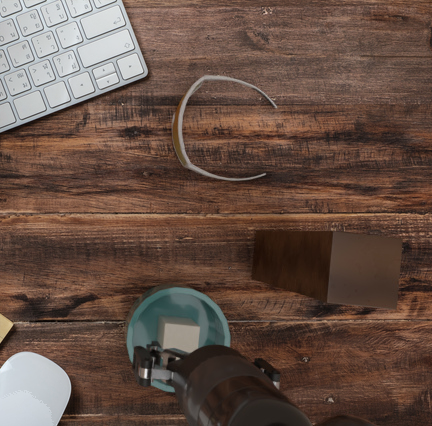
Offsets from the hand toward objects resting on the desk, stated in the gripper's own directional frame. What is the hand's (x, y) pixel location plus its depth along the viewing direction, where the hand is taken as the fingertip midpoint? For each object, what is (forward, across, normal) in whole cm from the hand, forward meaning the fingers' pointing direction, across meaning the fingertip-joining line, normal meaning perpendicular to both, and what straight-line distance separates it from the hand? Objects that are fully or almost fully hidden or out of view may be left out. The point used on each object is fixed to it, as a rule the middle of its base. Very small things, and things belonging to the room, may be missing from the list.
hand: (189, 353), depth 56 cm
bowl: (+11, 0, 0) cm, 11 cm away
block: (+11, 0, 0) cm, 11 cm away
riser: (+11, +14, +12) cm, 22 cm away
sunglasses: (+11, +4, +29) cm, 32 cm away
